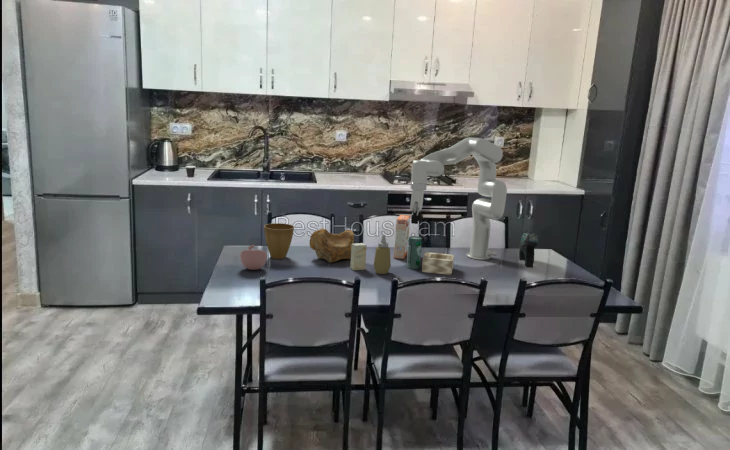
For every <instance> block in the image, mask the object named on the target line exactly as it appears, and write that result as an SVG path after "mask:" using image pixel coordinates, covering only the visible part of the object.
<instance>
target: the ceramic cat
mask: <svg viewBox="0 0 730 450" xmlns="http://www.w3.org/2000/svg"><path fill="white" fill-rule="evenodd" d="M529 229H530V231H532V230H533V227H532V226H530V227H529ZM530 231H529V230H526V231H525V233H522V235H521V237H520V241H519V246H518V247H519V249H518V259H519V260H520V261H524V266H525V267H526V268H534V263H535V248H537V247H538V246H539V244H538V242H539V238H538V235H537V233H536V232H533V233H532V232H530Z"/></svg>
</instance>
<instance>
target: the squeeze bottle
mask: <svg viewBox="0 0 730 450" xmlns="http://www.w3.org/2000/svg"><path fill="white" fill-rule="evenodd" d="M386 240H387V239H386V235H384V234H382V235H381V238H380V241H379V242H378V246H376V248H375V252H374V253H375V254H374V259H373V268H374V272H375V273H376V274H379V275H386V274H388V273H389V271H390V268H391V267H392V266H391V265H392V264H391V248H390V247H389V242H387V241H386Z"/></svg>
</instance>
